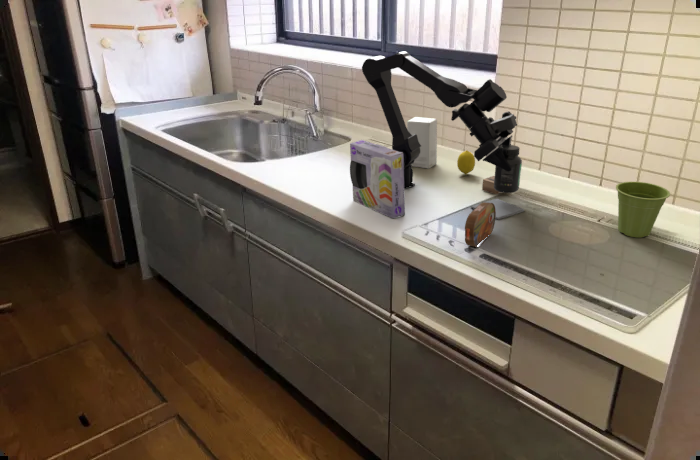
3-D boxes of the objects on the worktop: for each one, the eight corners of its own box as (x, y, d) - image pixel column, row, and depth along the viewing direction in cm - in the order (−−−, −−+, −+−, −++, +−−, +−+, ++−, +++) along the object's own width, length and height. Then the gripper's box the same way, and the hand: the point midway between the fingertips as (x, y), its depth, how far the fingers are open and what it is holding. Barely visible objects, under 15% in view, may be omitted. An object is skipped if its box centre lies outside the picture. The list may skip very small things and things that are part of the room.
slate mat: (497, 219, 154) (497, 217, 153) (470, 208, 161) (471, 206, 161) (524, 211, 158) (524, 209, 158) (496, 200, 166) (497, 198, 166)
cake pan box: (349, 200, 169) (347, 140, 161) (363, 196, 171) (362, 137, 164) (391, 220, 154) (392, 156, 147) (405, 216, 157) (407, 152, 150)
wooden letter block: (495, 194, 171) (496, 183, 169) (482, 190, 174) (482, 179, 173) (506, 191, 174) (507, 179, 172) (492, 186, 177) (493, 175, 176)
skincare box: (437, 164, 198) (438, 118, 191) (428, 169, 193) (430, 122, 186) (414, 160, 202) (415, 115, 195) (405, 165, 197) (406, 120, 190)
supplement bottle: (523, 190, 162) (529, 148, 157) (506, 195, 158) (511, 152, 153) (505, 183, 167) (509, 142, 162) (488, 187, 164) (492, 146, 159)
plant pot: (620, 243, 139) (628, 199, 135) (600, 223, 150) (607, 181, 146) (670, 242, 139) (680, 198, 135) (647, 222, 150) (655, 180, 146)
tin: (473, 253, 136) (476, 219, 133) (461, 250, 138) (463, 217, 134) (495, 230, 148) (498, 198, 144) (483, 227, 149) (486, 196, 146)
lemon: (474, 177, 184) (475, 153, 181) (456, 176, 185) (457, 152, 182) (474, 172, 189) (476, 148, 186) (456, 171, 190) (458, 147, 187)
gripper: (490, 110, 147) (529, 159, 147) (509, 97, 162) (544, 140, 162) (457, 137, 154) (495, 183, 154) (479, 122, 169) (513, 164, 169)
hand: (513, 166), depth 159 cm, fingers closed on supplement bottle, 7 cm apart
